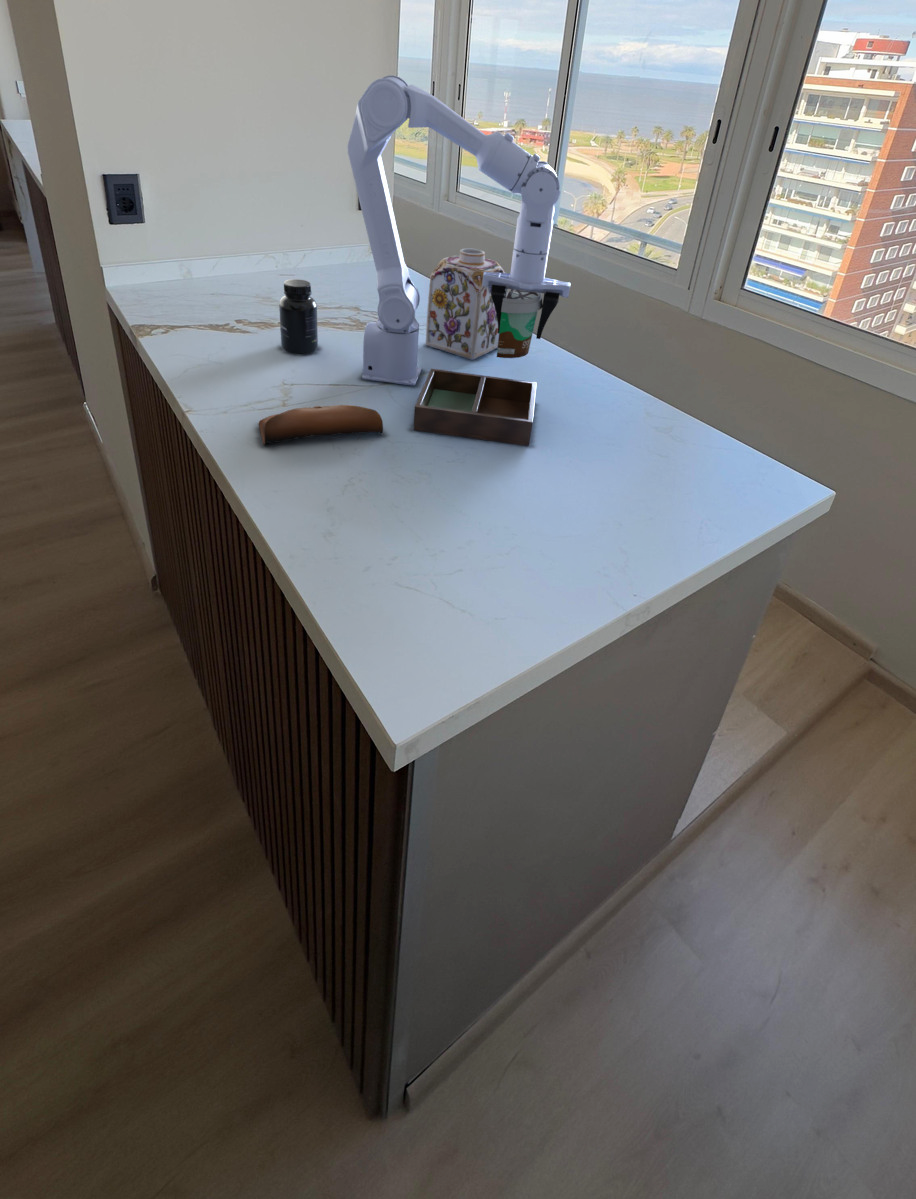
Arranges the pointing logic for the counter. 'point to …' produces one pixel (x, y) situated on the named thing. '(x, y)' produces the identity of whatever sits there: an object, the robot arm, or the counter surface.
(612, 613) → the counter surface
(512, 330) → the food container
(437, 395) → the organiser tray
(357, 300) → the counter surface
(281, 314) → the supplement bottle
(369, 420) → the sunglasses case
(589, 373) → the counter surface
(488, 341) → the decorative jar
